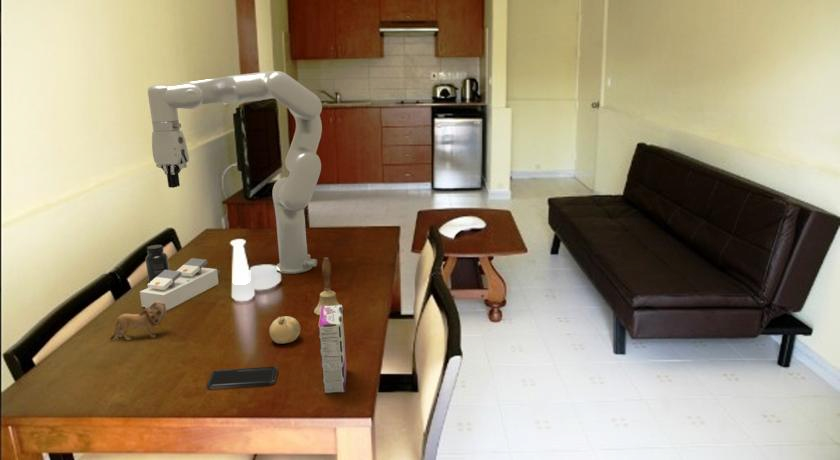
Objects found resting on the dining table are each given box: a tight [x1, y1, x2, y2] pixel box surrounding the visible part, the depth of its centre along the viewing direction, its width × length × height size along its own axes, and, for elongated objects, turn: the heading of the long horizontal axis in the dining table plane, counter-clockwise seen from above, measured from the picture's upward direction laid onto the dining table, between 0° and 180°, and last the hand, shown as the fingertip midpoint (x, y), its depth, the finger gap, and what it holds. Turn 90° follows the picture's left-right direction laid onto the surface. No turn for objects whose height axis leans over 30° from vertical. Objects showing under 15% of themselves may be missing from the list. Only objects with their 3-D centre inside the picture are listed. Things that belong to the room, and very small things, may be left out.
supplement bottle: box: [145, 244, 170, 283], centre depth 214 cm, size 7×7×12 cm
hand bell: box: [313, 256, 344, 317], centre depth 186 cm, size 8×8×16 cm
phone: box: [206, 366, 279, 390], centre depth 150 cm, size 8×1×15 cm
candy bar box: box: [318, 304, 348, 394], centre depth 145 cm, size 11×5×16 cm, turn 5°
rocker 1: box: [147, 269, 182, 290], centre depth 195 cm, size 6×8×2 cm
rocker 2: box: [176, 257, 209, 276], centre depth 206 cm, size 6×8×2 cm
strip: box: [139, 267, 221, 311], centre depth 205 cm, size 9×30×6 cm, turn 159°
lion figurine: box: [109, 301, 168, 341], centre depth 173 cm, size 15×5×9 cm, turn 111°
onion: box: [268, 315, 301, 345], centre depth 168 cm, size 8×8×7 cm
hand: (174, 186), depth 201 cm, fingers closed
